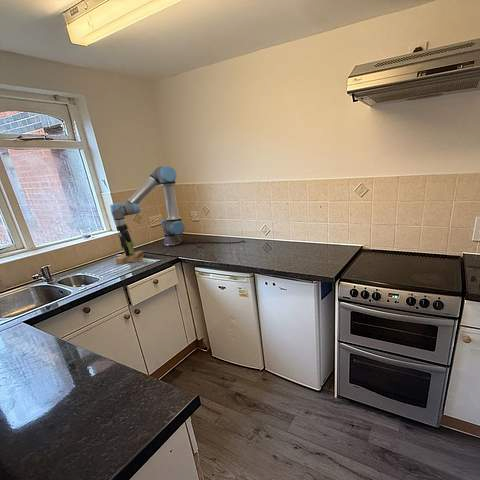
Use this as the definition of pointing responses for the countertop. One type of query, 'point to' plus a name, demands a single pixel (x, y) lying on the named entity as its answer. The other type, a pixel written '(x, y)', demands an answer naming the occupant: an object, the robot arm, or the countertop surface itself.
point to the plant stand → (130, 257)
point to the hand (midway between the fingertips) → (130, 253)
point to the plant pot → (130, 247)
